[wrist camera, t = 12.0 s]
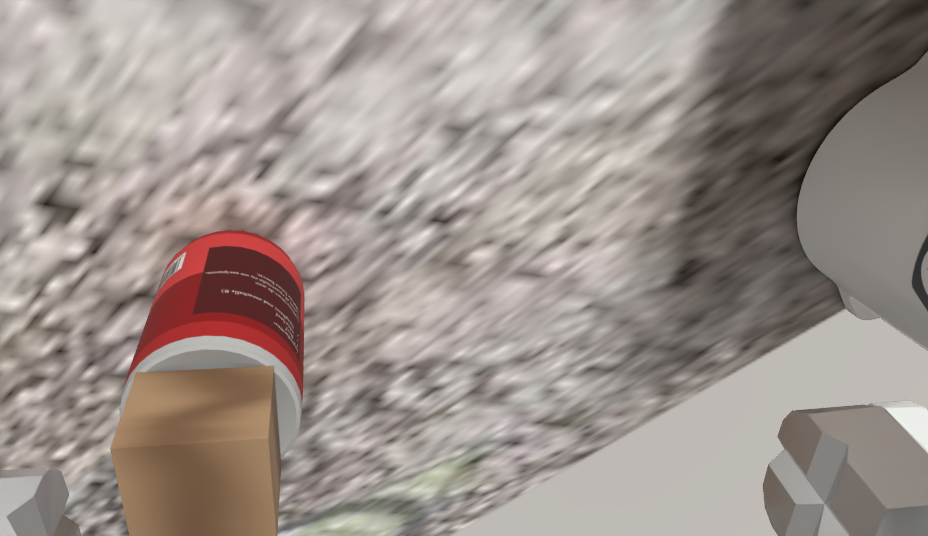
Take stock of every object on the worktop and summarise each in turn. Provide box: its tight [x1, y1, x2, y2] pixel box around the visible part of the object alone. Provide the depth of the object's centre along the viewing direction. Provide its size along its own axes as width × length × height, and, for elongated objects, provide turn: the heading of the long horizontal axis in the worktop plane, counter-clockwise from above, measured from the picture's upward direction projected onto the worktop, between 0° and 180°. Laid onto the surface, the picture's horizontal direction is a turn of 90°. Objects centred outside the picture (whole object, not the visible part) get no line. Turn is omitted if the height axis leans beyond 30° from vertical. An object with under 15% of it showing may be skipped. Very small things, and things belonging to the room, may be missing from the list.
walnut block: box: [110, 366, 281, 536], centre depth 31 cm, size 6×6×4 cm
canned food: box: [120, 230, 304, 458], centre depth 38 cm, size 8×8×11 cm
